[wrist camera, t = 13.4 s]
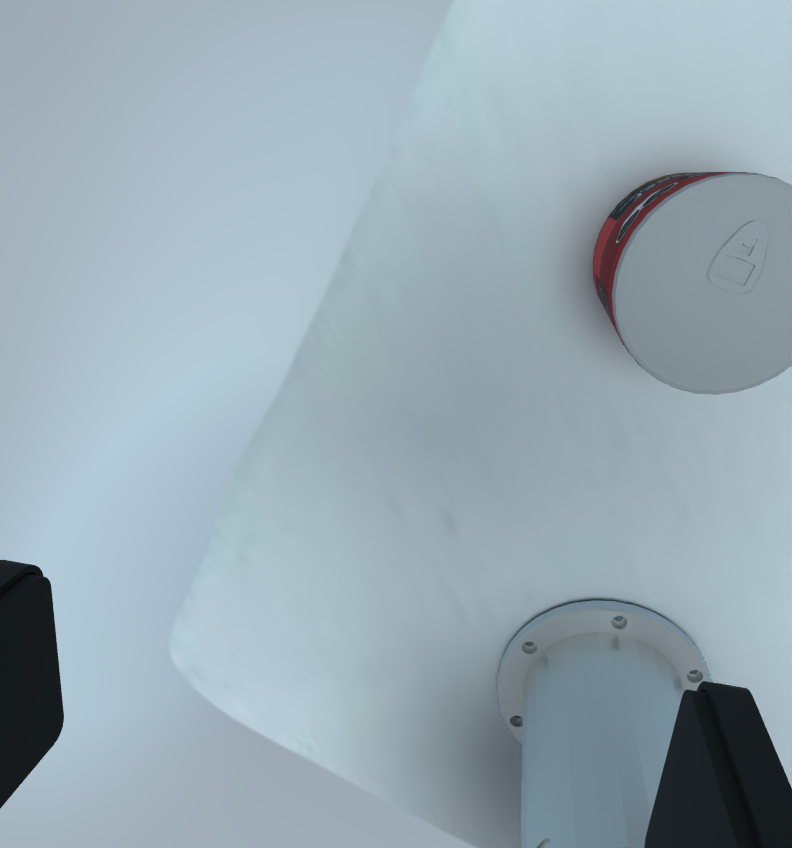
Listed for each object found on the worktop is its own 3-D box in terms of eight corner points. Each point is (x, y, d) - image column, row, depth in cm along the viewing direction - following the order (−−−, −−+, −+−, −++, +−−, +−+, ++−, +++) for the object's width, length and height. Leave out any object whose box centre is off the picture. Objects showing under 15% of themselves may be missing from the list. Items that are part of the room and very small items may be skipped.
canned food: (770, 176, 34) (872, 178, 24) (734, 342, 37) (812, 407, 27) (603, 167, 35) (632, 165, 25) (581, 329, 38) (599, 386, 28)
